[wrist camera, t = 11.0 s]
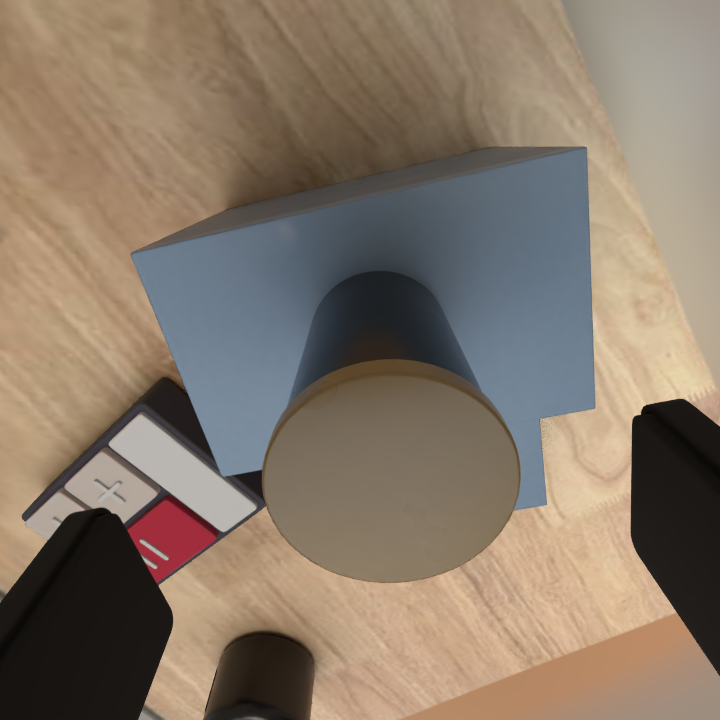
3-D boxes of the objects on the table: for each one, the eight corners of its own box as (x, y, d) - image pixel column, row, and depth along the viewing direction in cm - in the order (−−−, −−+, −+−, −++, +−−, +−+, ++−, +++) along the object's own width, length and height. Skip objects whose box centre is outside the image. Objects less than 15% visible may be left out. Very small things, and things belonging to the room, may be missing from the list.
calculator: (10, 526, 34) (135, 407, 30) (48, 485, 38) (164, 374, 33) (135, 608, 38) (266, 513, 33) (159, 563, 41) (279, 472, 37)
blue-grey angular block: (225, 210, 29) (129, 253, 17) (491, 146, 28) (587, 146, 16) (317, 496, 38) (295, 657, 26) (524, 460, 36) (602, 613, 24)
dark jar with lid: (289, 284, 18) (225, 403, 9) (439, 251, 17) (508, 346, 9) (326, 412, 20) (300, 600, 12) (460, 386, 19) (532, 564, 11)
